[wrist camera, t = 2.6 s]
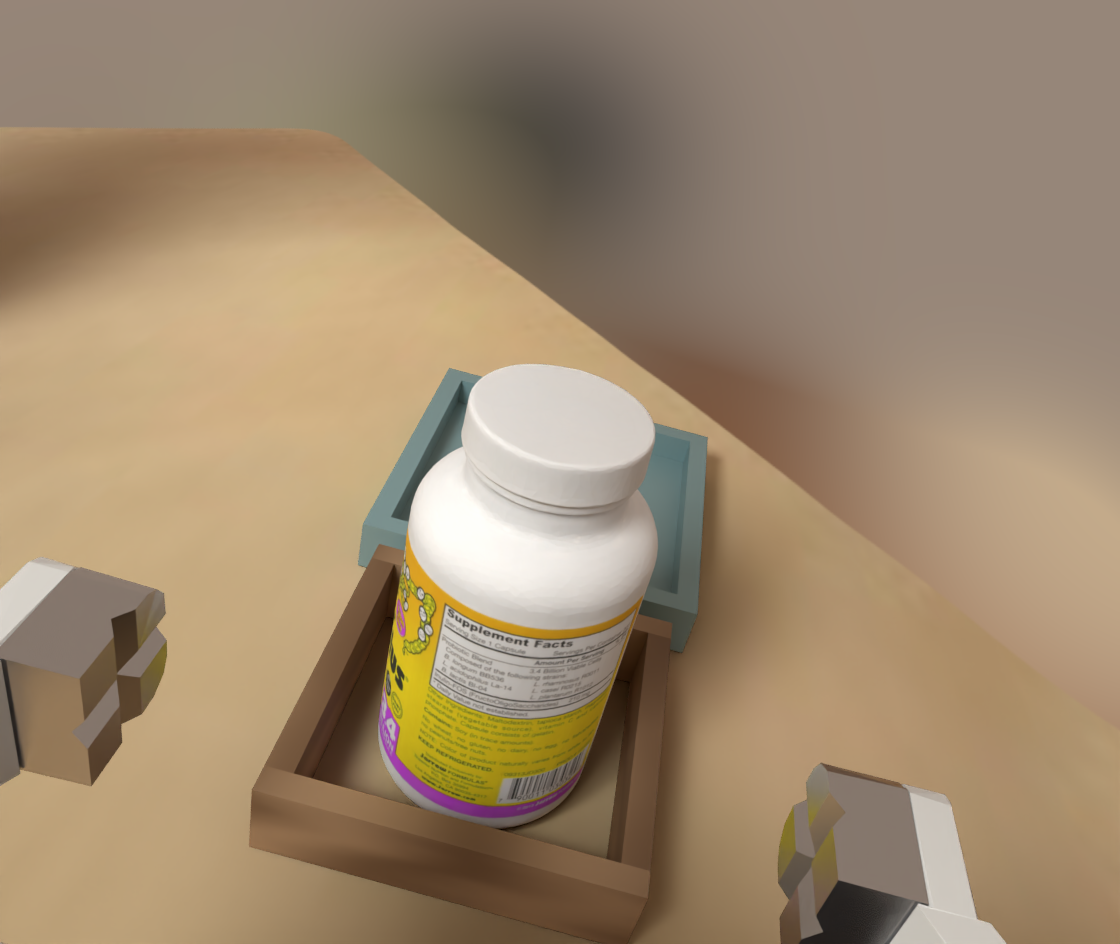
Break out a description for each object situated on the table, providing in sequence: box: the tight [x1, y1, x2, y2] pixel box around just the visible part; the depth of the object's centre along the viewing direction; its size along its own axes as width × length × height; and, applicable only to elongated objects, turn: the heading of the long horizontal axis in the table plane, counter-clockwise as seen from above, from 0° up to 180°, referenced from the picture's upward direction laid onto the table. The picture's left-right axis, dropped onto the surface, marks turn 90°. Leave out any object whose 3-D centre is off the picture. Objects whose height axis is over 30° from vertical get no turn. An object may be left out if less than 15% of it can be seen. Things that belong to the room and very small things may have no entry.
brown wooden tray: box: [249, 544, 672, 944], centre depth 30 cm, size 11×11×2 cm
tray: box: [358, 368, 708, 653], centre depth 41 cm, size 13×13×2 cm
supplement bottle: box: [378, 364, 658, 829], centre depth 27 cm, size 7×7×13 cm
